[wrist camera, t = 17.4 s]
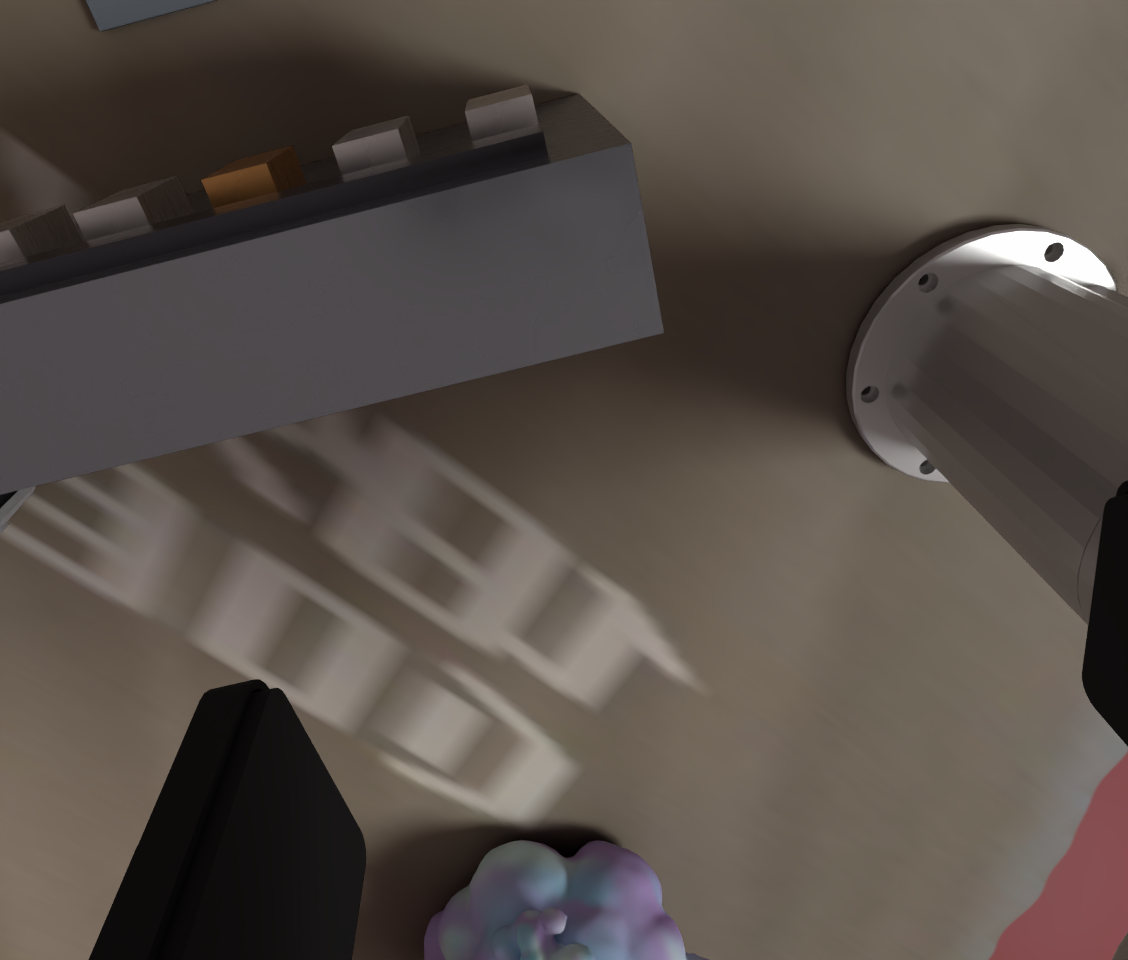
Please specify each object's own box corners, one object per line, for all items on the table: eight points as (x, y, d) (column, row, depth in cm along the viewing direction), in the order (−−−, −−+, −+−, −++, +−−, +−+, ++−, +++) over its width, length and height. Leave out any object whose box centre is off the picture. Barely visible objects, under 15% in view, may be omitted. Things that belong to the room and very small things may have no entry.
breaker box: (572, 60, 31) (621, 89, 19) (604, 220, 35) (663, 332, 22) (34, 200, 32) (-239, 312, 20) (112, 343, 36) (-85, 515, 23)
